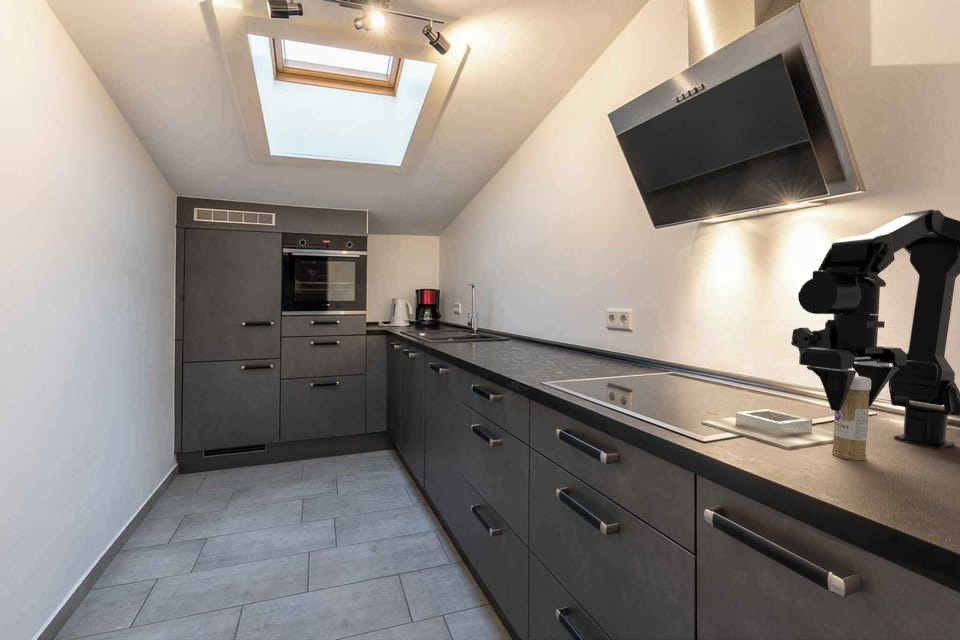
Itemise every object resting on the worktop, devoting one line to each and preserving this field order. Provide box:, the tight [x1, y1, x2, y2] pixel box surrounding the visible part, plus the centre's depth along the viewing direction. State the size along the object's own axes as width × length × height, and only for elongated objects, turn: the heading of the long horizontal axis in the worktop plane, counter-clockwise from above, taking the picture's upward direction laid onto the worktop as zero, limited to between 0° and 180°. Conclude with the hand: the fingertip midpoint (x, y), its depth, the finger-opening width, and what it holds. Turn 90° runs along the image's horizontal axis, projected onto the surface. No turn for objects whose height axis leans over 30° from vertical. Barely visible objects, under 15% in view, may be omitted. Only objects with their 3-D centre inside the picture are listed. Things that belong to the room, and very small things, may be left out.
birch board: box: [701, 416, 834, 451], centre depth 91 cm, size 18×18×1 cm
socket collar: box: [735, 408, 813, 437], centre depth 91 cm, size 9×9×2 cm
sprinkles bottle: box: [831, 375, 871, 461], centre depth 76 cm, size 5×5×14 cm
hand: (850, 408), depth 76 cm, fingers open, 8 cm apart
